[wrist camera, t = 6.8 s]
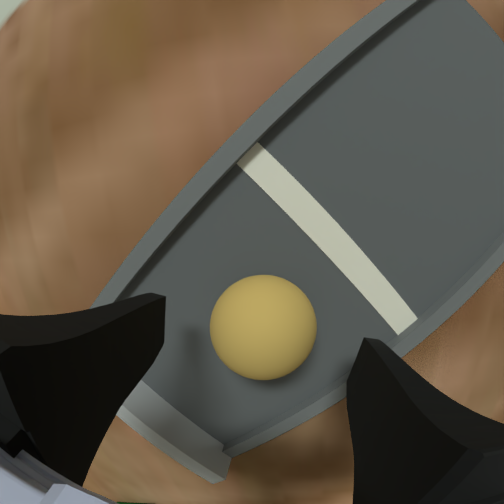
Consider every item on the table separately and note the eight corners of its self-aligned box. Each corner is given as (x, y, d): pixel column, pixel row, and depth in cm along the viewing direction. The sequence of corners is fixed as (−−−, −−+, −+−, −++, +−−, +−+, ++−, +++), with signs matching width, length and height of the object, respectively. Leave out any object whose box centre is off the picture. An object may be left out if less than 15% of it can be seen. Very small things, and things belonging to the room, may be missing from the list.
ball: (333, 291, 13) (343, 340, 9) (284, 357, 14) (276, 416, 10) (250, 243, 13) (228, 276, 9) (209, 317, 14) (178, 366, 10)
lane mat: (564, 154, 9) (597, 157, 6) (223, 450, 17) (212, 483, 14) (430, -23, 8) (449, -52, 5) (81, 328, 16) (52, 351, 13)
